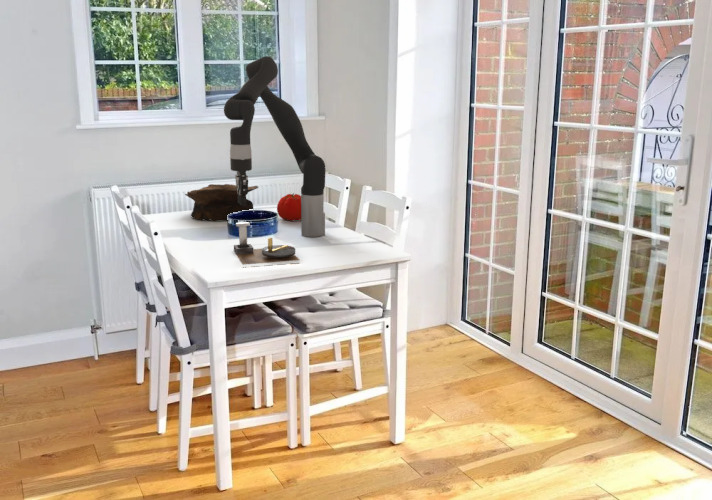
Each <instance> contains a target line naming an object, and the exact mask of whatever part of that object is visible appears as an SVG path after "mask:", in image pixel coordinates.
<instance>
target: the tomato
mask: <svg viewBox="0 0 712 500" xmlns="http://www.w3.org/2000/svg"><path fill="white" fill-rule="evenodd" d="M276 211H277V215H278V216H279V218H280V219H282V220H284V219H285V220H284V221H289V220H290V222H292V221H293V220H294V221H296V220H299V221H301V194H298V193H294V192H293V193H292V194H291V193H287V194H286V195H284V196H282V197H280V199H279V200H278V202H277V204H276Z"/></svg>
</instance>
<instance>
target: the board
mask: <svg viewBox="0 0 712 500" xmlns="http://www.w3.org/2000/svg"><path fill="white" fill-rule="evenodd" d="M233 252H234V254H235V255H236V257H237V258H238V259H239V261H240V263H241V264H242V265H251V264H252V265H253V264H268V263H278V262H279V263H280V264H278V266H283V265H284V266H285V263H284V264H282V263H281V262H293V261H295V262H296V261H300V258H299V257H297V255H296V254H295V255H293V256H289V257H281V258H274V257H267V256H264V255H262V248H254V246H253V245H252V244H251V243H247V248H240V244H233ZM295 262H294V263H291V265H294V264H295V265H296V264H297V265H298V262H296V263H295ZM268 266H269V267H270V266H272V264H269V265H265V267H268ZM244 267H245V266H243V267H242V268H244ZM256 267H259V265H258V266H257V265H253V266H252V268H256Z"/></svg>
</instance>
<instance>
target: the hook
mask: <svg viewBox="0 0 712 500" xmlns="http://www.w3.org/2000/svg"><path fill="white" fill-rule="evenodd" d="M235 226H236V227H238V233H239V235H238V237H239V245H240V248H247V244H248V227H247V226H249V227H250V226H251V225H250V221H249V222H247V221H246V222H236V223H235Z"/></svg>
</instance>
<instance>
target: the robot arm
mask: <svg viewBox="0 0 712 500" xmlns="http://www.w3.org/2000/svg"><path fill="white" fill-rule="evenodd" d="M245 73H246V75H247V78H248V80H247V81H246V82H245V83H244V84H242V86H241V87H240V89H239V91H238V92H237V93H236V94H234V95H233V96H231V97H229V98H228V99H227V100H226V102H225V103H224V106H223V113H224V116H225V117H226V118H227V119H228V120H230V121H242V124H241V125H239V126H235V127H234V126H233V127H232V128H230V131H229V132H230V133H229V137H230V139H229V140H230V141H229V142H230V147H229V148H230V149H229V156H230V157H229V159H230V160H229V162H230V164H229V165H230V170H231V171H233V172H236V174H235V175H234V178H235V185H236V190H237V193H239V194H238V203H239V204H240V205H241V206H246V199H247V195H248V194H249V192H248V187H249V175H247V172H250V171H251V170H252V169H253V165H252V164H253V161H252V159H253V158H252V157H253V156H252V147H251V130H252V124H253V119H254V116H255V111H256V110H255V109H256V108H255V104H256V102H257V101H258V99H259V97H260V99H261V100H262V102H263V104H264V105H265V107H266V109H267V110H268V112H269V114H270V116H271V118H272V119H273V121H274V124H275V126H276V127H277V129H278V131H279V133H280V135H281V136H282V137H283V139H284V141H285V142H286V144H287V145H288V146H289V149H290V150H291V152H292V154H293V157H294V160H295V162H296V163H297V166H298V169H299V170H300V172H301V173H302V179H303V181H302V186H301V188H300V196H301V220H300V223H301V224H300V225H301V226H300V228H301V229H300V230H301V231H300V232H301V233H300V234H301V236H303V237H307V238H314V237H315V238H317V237H323V236H326V213H325V210H324V209H325V208H324V190H325V187H326V186H325V185H326V164H325V160H324V159H323V158H322V157H320V156H319V155H316V154H315V152H314V151H313V149H312V147H311V146H310V144H309V143H308V140H307V139H306V136H305V135H306V134H305V131H304V128H303V124H302V122H301V120H300V117H299V116H298V114H297V112H296V109H294V107H293V106H292V105H291V104H290V103H288V102H287V101H286V100H284V99H282V98H281V97H279V96H278V95H276V94H275V93H274V92H273V91H272V90H271V89H270V88H269V84H270V83H272V81H274V80H275V79H276V77H278V73H279V67H278V66H277V63H276V61H275V60H274V58H272V57H270V56H267V55H266V56H265V55H264V56H262V57H260V58H258V59H256V60H254V61H251V62H249V63H248V64H247V65H246V66H245ZM244 189H245V191H244Z"/></svg>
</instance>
